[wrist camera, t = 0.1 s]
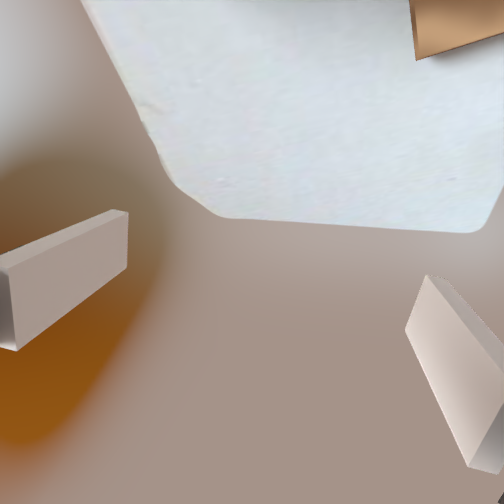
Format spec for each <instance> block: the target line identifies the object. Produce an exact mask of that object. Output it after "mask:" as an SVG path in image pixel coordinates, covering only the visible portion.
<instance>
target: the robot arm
mask: <svg viewBox="0 0 504 504" xmlns="http://www.w3.org/2000/svg"><path fill="white" fill-rule="evenodd" d="M127 240H128V212H124V211H119V210H114V209H112V210H109V211H107V212H104V213H102V214H99V215H97V216H95V217H92V218H90V219H87V220H85V221H83V222H80V223H78V224H75V225H73V226H70V227H68V228H65V229H63V230H60V231H58V232H56V233H53V234H51V235H48V236H46V237H44V238H41V239H39V240H36V241H34V242H31V243H29V244H26V245H22V246H19V247H17V248H15V249H12V250H10V251H9V252H5V253H2V254H0V347H2V348H6V349H10V350H14V351H17V350H19V349H20V348H21V347H23V346H24V345H25V344H27V343H28V342H29V341H31V340H32V339H33V338H35V337H36V336H37V335H38V334H40V333H41V332H42V331H44V330H45V329H46V328H47V327H49V326H50V325H52V324H53V323H54V322H56V321H57V320H58V319H60V318H61V317H62V316H64V315H65V314H66V313H68V312H69V311H70V310H72V309H73V308H74V307H75V306H77V305H78V304H79V303H80V302H82V301H83V300H85V299H86V298H87V297H89V296H90V295H91V294H92V293H94V292H95V291H97V290H98V289H99V288H101V287H102V286H103V285H104V284H106V283H107V282H108V281H110V280H111V279H112V278H114V277H115V276H116V275H118V274H119V273H120V272H122V271H123V270H124V269H126V267H127ZM405 332H406V334H407V336H408V338H409V340H410V342H411V345H412V347H413V349H414V351H415V353H416V356H417V358H418V360H419V362H420V364H421V367H422V369H423V371H424V373H425V375H426V377H427V380H428V382H429V384H430V386H431V388H432V390H433V393H434V395H435V397H436V399H437V401H438V403H439V405H440V408H441V410H442V412H443V414H444V416H445V419H446V421H447V423H448V425H449V427H450V430H451V432H452V434H453V436H454V438H455V440H456V443H457V444H458V447H459V449H460V451H461V453H462V456H463V457H464V460H465V462H466V464H467V466H468V467H470V468H474V469H478V470H482V471H486V472H490V473H493V474H498V473H499V472H500V470H501V469H502V467H503V465H504V345H503V343H501V341H500V340H499V339H498V338H497V337H496V336H495V334H494V333H493V332H492V331H491V330H490V329H489V328H488V326H487V325H486V324H485V323H484V322H483V321H482V320H481V319H480V318H479V316H478V315H477V314H476V313H475V312H474V311H473V310H472V308H471V307H470V306H469V305H468V304H467V303H466V302H465V301H464V299H463V298H462V297H461V296H460V295H459V294H458V293H457V291H456V290H455V289H454V288H453V287H452V286H451V285H450V284H449V282H448V281H447V280H446V279H445V278H441V277H436V276H431V275H426V276H425V278H424V281H423V284H422V287H421V289H420V292H419V294H418V297H417V299H416V302H415V305H414V307H413V310H412V312H411V315H410V318H409V321H408V323H407V326H406V328H405ZM498 503H500V504H504V493H503V495H502V496H501V498H500V499H499V501H498Z"/></svg>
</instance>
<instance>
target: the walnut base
mask: <svg viewBox="0 0 504 504" xmlns="http://www.w3.org/2000/svg"><path fill="white" fill-rule="evenodd" d="M409 4H410V13H411V22H412V31H413V40H414V49H415V58H416V61H417V60H420V59H424V58H427V57H430V56H433V55H436V54H439V53H442V52H446V51H449V50H452V49H455V48H458V47H461V46H464V45H467V44H471V43H474V42H477V41H480V40H483V39H486V38H489V37H493V36H496V35H499V34H502V33H504V0H409Z"/></svg>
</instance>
